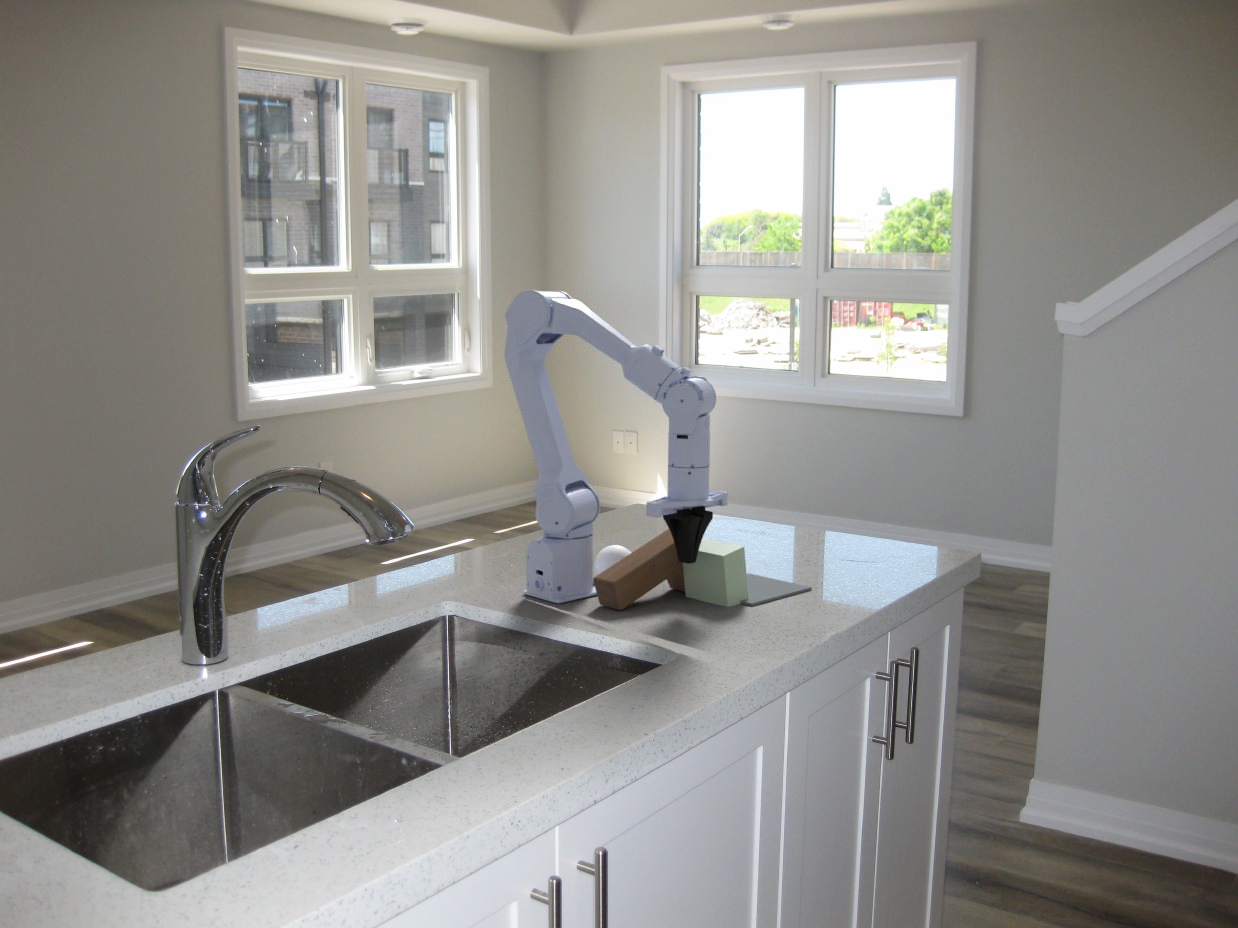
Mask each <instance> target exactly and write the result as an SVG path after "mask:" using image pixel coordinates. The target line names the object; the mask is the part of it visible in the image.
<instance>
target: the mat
mask: <svg viewBox="0 0 1238 928" xmlns="http://www.w3.org/2000/svg"><path fill="white" fill-rule="evenodd" d="M746 575H747V587H748V599H746V600H742V601H741V604H740V605H744V606H748V607H754V606H757V605H761V604H765V603H768V602H773V601H776V600H779V599H783V598H788V597H790V596H795V595H799V594H802V593H805V592H809V591H812V589H813V587H812V586H809V585H803V584H798V583H795V582H790V581H785V580H781V579H776V578H771V577H768V576H762V575H759V574H753V573H746Z"/></svg>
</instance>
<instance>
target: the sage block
mask: <svg viewBox="0 0 1238 928" xmlns="http://www.w3.org/2000/svg"><path fill="white" fill-rule="evenodd" d="M746 565H747V564H746V551H745V546H743V545H739V544H738V545H737V544H734V543H733V544H732V543H729V542H728V543H727V542H722V541H720V540H719V541H718V540H712V539H708V538H702V541H701V544H700V547H699V551H698V555H697V558H696V562H695V563H691V564H687V563H683V572H684V583H685V592H684V593H685V597H686V598H688V599H689V598H690V599H693V600H697V601H702V602H705V603H709V604H713V605H718V606H721V607H725V608H731V607H735V606H739V605H742V604H741V601H742V600H746V599H748V587H747V575H746V574H747V566H746Z"/></svg>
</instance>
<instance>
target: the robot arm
mask: <svg viewBox="0 0 1238 928" xmlns="http://www.w3.org/2000/svg"><path fill="white" fill-rule="evenodd" d="M504 317H505V321H506V323H507V324H506V325H507V330H506V339H505V347H504V360H505V361H504V362H505V365H506V368H507V371H508V374H509V375H508V376H509V378H510V381H511V385H512V388H513V392H514V394H515V397H516V401H517V404H518V408H519V410H520V411H519V412H520V414H521V418H522V420H523V424H524V427H525V431H526V433H527V437H528V438H527V439H528V442H529V445H530V448H531V451H532V455H533V458H534V460H535V461H534V462H535V464H536V467H537V471H538V478H537V479H536V483H535V484H534V488H533V491H534V495H535V500H536V502H535V503H536V505H535V518H536V522H537V524H538V526H539V528H540V529H541V530H542V531H543V534H542V535H541V536H540V537H539V538H537V539H534V540H532V541H531V542H530V543H529V545H528V547H527V550H526V589H524V590H522V593H523V594H524V595H527V596H530V597H534V598H537V599H540V600H544V601H548V602H551V603H555V604H562V603H566V602H571V601H576V600H579V599H583V598H589V597H593V596H597V592H596V588H595V585H594V581H593V578H594V527H593V526H594V525H593V523H594V522H595V521H596V520H598V519H597V518H598V517H599V516H600V512H601V507H602V506H601V500H600V497H599V494H598V493H597V491H596V490H595V489H594V488H593V487H592V485H591V484H590V483H589V480H588V477H587V474H586V473H585V472H584V470H582V469H581V467H579V466H578V465H577V463H576V461H575V459H574V456H573V452H572V450H571V446H570V443H569V439H568V437H567V436H568V435H567V432H566V429H565V426H564V421H563V418H562V416H561V413H560V409H559V406H558V403H557V399H556V395H555V393H554V389H553V385H552V383H551V379H550V376H549V373H548V369H547V366H546V363H545V360H546V358H547V357H548V354H549V353H550V351H551V349H552V348H553V346H554V344H555V343H556V342H558V341H559V340H560V339H561V338H562V337H563V336H564V335H568V336H569V335H570V336H577V337H578V338H580V339H582V340H583V341H584V342H586V343H588V344H589V345H591V346H592V347H594V348H596V349H597V350H598V351H599V352H601V353H603V354H604V355H606V356H607V357H609V358H611V359H612V360H613V361H615V362H617V363H618V364H620V365H621V367H622V372H623V377H624V378H625V379H626V380H627V381H629V382H630V383H631V384H632V385H634V386H635V387H636V388H638V389H639V390H641V391H642V392H643V393H645V394H646V395H647V396H649V397H650V398H652V399H653V400H655V402H657V403H659V404H661V405H662V406H661V407H662V409H663V411H664V413H665V415H666V416H667V418H668V440H667V441H668V444H667V464H668V465H667V495H665V496H663V497H659V498H657V499H654V500H649V501H646V502H645V503H646V506H645V507H646V509H645V511H646V512H645V513H646V515H645V516H646V517H652V518H654V519H655V518H656V519H658V518H663V520H664V521H665V523H666V525H667V527H668V529H670V532H671V534H672V537H673V540H674V543H675V547H676V551H677V555H678V560H679V562H683V563H687V564H691V563H695V562H696V558H697V555H698V551H699V547H700V544H701V541H702V538H703V537H704V536H705V533H706V531H707V528H708V527H709V525H710V524H711V522H712V520H713V517H714V515H713V514H714V512H713V511H709V510H706V509H707V508H713V507H719V506H720V507H724V506H725V507H726V506H728V491H721V490H713V491H710V462H711V461H710V457H711V455H710V452H711V451H710V449H711V432H710V431H711V427H710V426H711V415H710V413H712V411H713V410H714V408H715V406H716V404H717V394H716V390H715V388H714V386H713V385H712V384H711V383H710V382H709V381H708V380H707V378H706V377H703V376H702V375H701V376H699V375H693V376H691V372H692V371H691V369H690V368H689V367H687V366H682V367H681V366H680V365H679V364H677V363H675V362H674V361H673V360H672V359H670V358H668V357H667V356H666V355H664V352H665V349H664V348H663V347H661V346H660V345H652V346H651V345H650V344H641V345H638V346H637V345H636V344H634V343H633V342H631V341H630V340H629V339H627V337H626V336H624V335H623V334H622V333H620V332H619V331H618V330H617V329H615V328H614V327H613V326H611V325H610V324H609V323H608V322H606V321H605V320H604V319H603V318H601V317H600V316H599V315H598V314H596V313H595V312H594V311H593V310H591V309H590V308H589V307H588V306H587V305H585V304H584V303H583V302H582V301H580V300H578V299H575V298H573V297H572V296H570V294H568V293H567V292H565V291H563V290H551V291H548V290H547V291H546V290H542V291H541V290H535V289H525V290H523V291H520V292H519V293H517V295H516V296H515V297H513V300H512V301H511V303H510V305H509V306H508V308H507V310H506V311H505V313H504Z"/></svg>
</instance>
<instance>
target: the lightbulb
mask: <svg viewBox="0 0 1238 928" xmlns="http://www.w3.org/2000/svg"><path fill="white" fill-rule="evenodd" d="M631 553H632V552H631V551H630V550H629V549H628V548H627V547H625V546H622V545H619V544H612V545H609V546H605V547H604V548H603V549H601V550H600V551H599V552H598V554H597V556H596V557H595V562H594V563H595V564H594V570H595V572H596V576H597V575H598V574H600V573H601V572H603V571H605V570H606V569H608V568H609V567H611V566H612V565H614V564H615V563H617V562H618V561H620V560H621V559H623V558H625V557H626V556H628V555H629V554H631Z"/></svg>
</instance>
